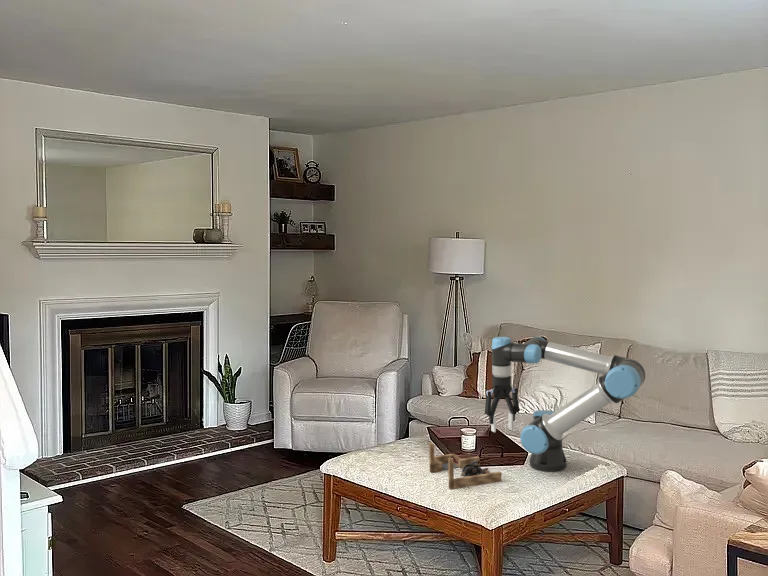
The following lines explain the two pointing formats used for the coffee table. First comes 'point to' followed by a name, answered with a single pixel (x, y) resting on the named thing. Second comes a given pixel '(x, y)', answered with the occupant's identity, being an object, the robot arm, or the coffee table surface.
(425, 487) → the coffee table surface
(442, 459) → the wooden rail pieces
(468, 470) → the stuffed animal
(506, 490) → the coffee table surface
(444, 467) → the mat
